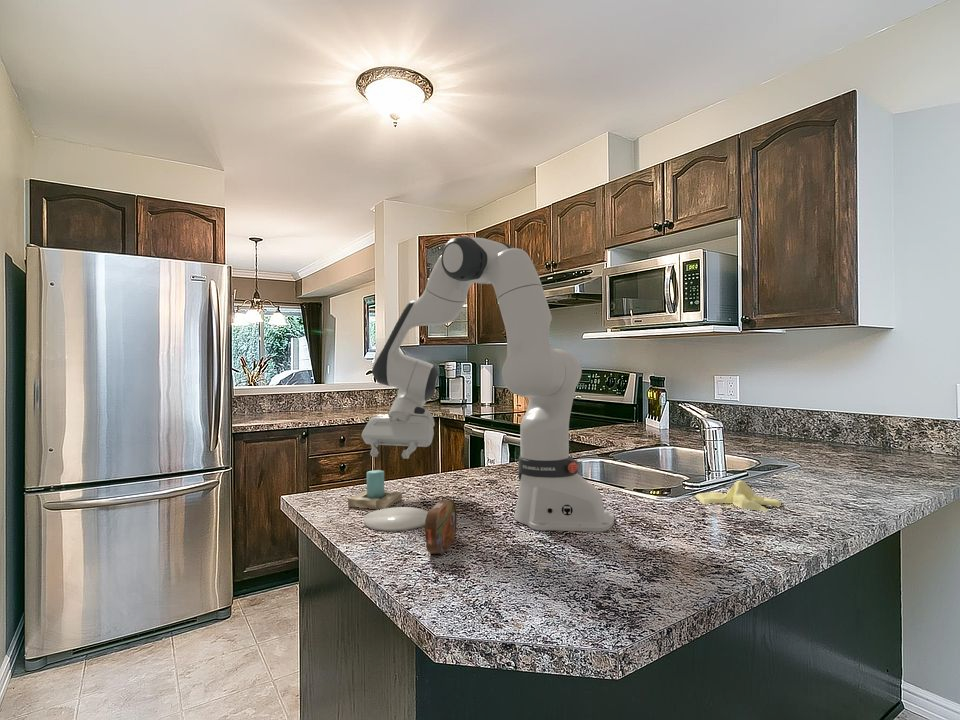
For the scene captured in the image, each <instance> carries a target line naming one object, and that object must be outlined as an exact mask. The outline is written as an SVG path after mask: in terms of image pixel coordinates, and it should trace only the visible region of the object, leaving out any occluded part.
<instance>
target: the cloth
mask: <svg viewBox="0 0 960 720" xmlns="http://www.w3.org/2000/svg"><path fill="white" fill-rule="evenodd" d="M726 493H727V494H725V493H723V492H722V493H721V492H713V491H712V492H701V493H697V494H696V495H694V497H695V498H696V499H697V501H699V502H700V504H702V503H703V505H705V504H709V503H733V504H734V505H736V506H738V507H741V508H744V509H752V510H760V511H768V510H769V509H768V508H767V507H766V506H761V505H771V506H781V507H782V505H781V503H782V502H781V500H779V499H775V498H771V497H763V496H759V495H756V494H755V491H754V490H753V489H752V488H751V486H749V485H748V484H747V483H746V482H745V480H737V481H735V482H734V484H733V485H732V487H730V488H729V490H727V492H726ZM724 507H728V508H733V509H734V508H735V507H734V506H732V505H728V504H724ZM724 507H723V508H724ZM728 508H727V509H728Z"/></svg>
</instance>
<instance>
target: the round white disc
mask: <svg viewBox="0 0 960 720" xmlns="http://www.w3.org/2000/svg"><path fill="white" fill-rule="evenodd" d="M428 512H429V510H428V511H427V510H425V509H422V508H419V507H418V508H417V507H408V506H404V507H403V506H399V507H397V506H396V507H388V508H385V509H380V510H379V509H375V510H373V511H370V512H368V513H367V514H365V515H364V516H363V524H364V526H365V527H366V528H369V529H372V530H377V531H383V532H397V531H398V532H399V531H406V530H407V531H409V530H414V529H418V528H421V527H425V520H426V516H427V513H428Z"/></svg>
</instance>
